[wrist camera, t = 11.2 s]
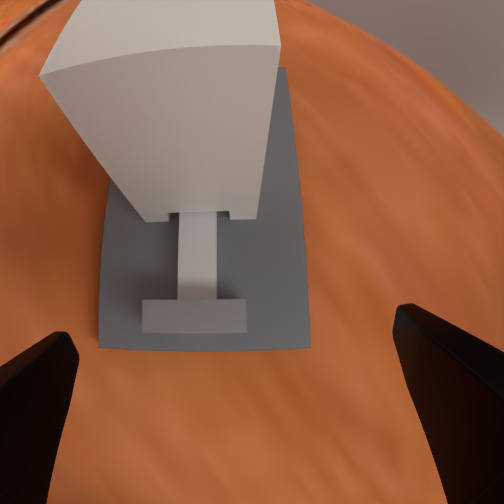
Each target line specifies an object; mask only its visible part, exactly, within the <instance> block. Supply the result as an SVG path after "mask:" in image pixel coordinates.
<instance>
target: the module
mask: <svg viewBox="0 0 504 504" xmlns="http://www.w3.org/2000/svg"><path fill="white" fill-rule="evenodd" d="M280 50H281V42H280V36H279V30H278V23H277V17H276V11H275V6H274V0H82V1H81V2H80V4H79V5H78V7H77V8H76V10H75V11H74V13H73V14H72V16H71V17H70V19H69V21H68V22H67V24H66V26H65V27H64V29H63V31H62V32H61V34H60V36H59V38H58V39H57V41H56V43H55V45H54V47H53V48H52V50H51V52H50V54H49V56H48V58H47V60H46V62H45V64H44V66H43V68H42V70H41V72H40V74H39V77H40V79H41V80H42V82H43V83H44V85H45V86H46V88H47V89H48V91H49V92H50V94H51V95H52V97H53V98H54V100H55V101H56V103H57V104H58V106H59V107H60V109H61V110H62V111H63V113H64V114H65V116H66V117H67V119H68V120H69V121H70V123H71V124H72V126H73V127H74V129H75V130H76V131H77V133H78V134H79V136H80V137H81V138H82V140H83V141H84V142H85V144H86V145H87V147H88V148H89V149H90V151H91V152H92V153H93V155H94V156H95V157H96V159H97V160H98V161H99V163H100V164H101V165H102V167H103V168H104V169H105V171H106V172H107V173H108V175H109V176H110V177H111V179H112V180H113V181H114V183H115V184H116V185H117V187H118V188H119V189H120V190H121V192H122V193H123V194H124V196H125V197H126V198H127V199H128V201H129V202H130V203H131V204H132V206H133V207H134V208H135V210H136V211H137V212H138V213H139V215H140V216H141V217H142V218H143V220H144V221H145V222H170V215H171V213H177V212H207V211H229V214H230V220H245V219H256V217H257V210H258V203H259V196H260V189H261V182H262V175H263V168H264V161H265V154H266V147H267V140H268V133H269V126H270V119H271V112H272V105H273V98H274V91H275V84H276V77H277V70H278V64H279V57H280Z"/></svg>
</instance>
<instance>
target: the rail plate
mask: <svg viewBox="0 0 504 504" xmlns="http://www.w3.org/2000/svg"><path fill="white" fill-rule="evenodd" d="M99 348H111V349H127V350H148V351H186V352H223V351H262V350H283V349H300V348H311V344H310V320H309V300H308V282H307V267H306V252H305V239H304V226H303V214H302V203H301V192H300V182H299V172H298V163H297V153H296V144H295V136H294V127H293V119H292V111H291V104H290V96H289V89H288V81H287V74H286V68H284V67H278V70H277V77H276V84H275V91H274V98H273V105H272V112H271V119H270V126H269V133H268V140H267V147H266V154H265V161H264V168H263V175H262V182H261V189H260V196H259V203H258V210H257V217H256V219H245V220H230V214H229V211H207V212H177V213H171V215H170V222H145V221H144V220H143V218H142V217H141V216H140V215H139V213H138V212H137V211H136V210H135V208H134V207H133V206H132V204H131V203H130V202H129V201H128V199H127V198H126V197H125V196H124V194H123V193H122V192H121V190H120V189H119V188H118V187H117V185H116V184H115V183H114V181H113V180H112V179H111V177H110V183H109V189H108V197H107V204H106V212H105V221H104V230H103V241H102V252H101V266H100V285H99Z"/></svg>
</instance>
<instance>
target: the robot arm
mask: <svg viewBox="0 0 504 504" xmlns="http://www.w3.org/2000/svg"><path fill="white" fill-rule="evenodd" d="M393 340H394V343H395V346H396V350H397V353H398V356H399V360H400V363H401V367H402V370H403V374H404V378H405V381H406V384H407V387H408V390H409V393H410V395H411V398H412V400H413V403H414V406H415V408H416V411H417V413H418V416H419V419H420V421H421V424H422V427H423V429H424V432H425V435H426V438H427V440H428V443H429V446H430V449H431V452H432V455H433V458H434V461H435V464H436V467H437V470H438V473H439V476H440V479H441V482H442V486H443V489H444V492H445V496H446V499H447V502H448V504H504V352H502V351H501V350H499V349H497V348H495V347H493V346H492V345H490V344H488V343H486V342H484V341H483V340H481V339H479V338H477V337H475V336H473V335H471V334H470V333H468V332H466V331H464V330H462V329H460V328H459V327H457V326H455V325H453V324H451V323H449V322H447V321H445V320H444V319H442V318H440V317H438V316H436V315H434V314H432V313H430V312H428V311H427V310H425V309H423V308H421V307H419V306H417V305H415V304H413V303H409V304H403V305H399V306H398V307H397V309H396V314H395V320H394V326H393ZM78 365H79V353H78V351H77V349H76V347H75V345H74V343H73V341H72V339H71V337H70V335H69V334H68V333H67V332H65V331H56V332H53V333H52V334H50V335H48V336H47V337H45V338H44V339H42V340H41V341H39V342H37V343H36V344H34V345H33V346H31V347H30V348H28V349H27V350H25V351H23V352H22V353H20V354H19V355H17V356H16V357H14V358H13V359H11V360H10V361H8V362H7V363H5V364H4V365H2V366H1V367H0V504H46V503H47V497H48V492H49V487H50V482H51V477H52V473H53V468H54V464H55V459H56V455H57V451H58V447H59V443H60V439H61V435H62V431H63V428H64V424H65V420H66V417H67V413H68V410H69V406H70V402H71V398H72V393H73V388H74V383H75V378H76V373H77V369H78Z"/></svg>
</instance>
